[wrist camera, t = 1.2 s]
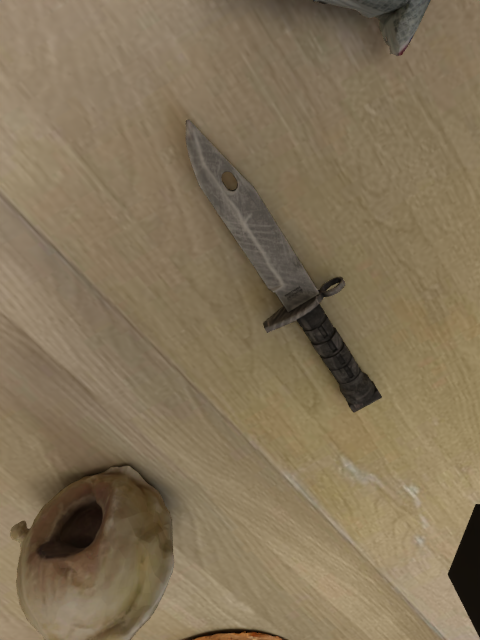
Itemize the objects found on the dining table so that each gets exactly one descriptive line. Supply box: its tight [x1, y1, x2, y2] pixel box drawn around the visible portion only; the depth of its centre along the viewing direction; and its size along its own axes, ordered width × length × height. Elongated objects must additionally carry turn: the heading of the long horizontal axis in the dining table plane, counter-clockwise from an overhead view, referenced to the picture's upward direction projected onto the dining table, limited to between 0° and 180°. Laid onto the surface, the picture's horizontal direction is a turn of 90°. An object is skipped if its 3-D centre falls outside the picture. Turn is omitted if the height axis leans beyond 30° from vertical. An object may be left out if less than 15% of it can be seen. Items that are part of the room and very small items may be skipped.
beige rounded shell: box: [10, 466, 174, 640], centre depth 26 cm, size 9×8×10 cm
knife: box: [186, 119, 382, 412], centre depth 23 cm, size 19×2×5 cm
